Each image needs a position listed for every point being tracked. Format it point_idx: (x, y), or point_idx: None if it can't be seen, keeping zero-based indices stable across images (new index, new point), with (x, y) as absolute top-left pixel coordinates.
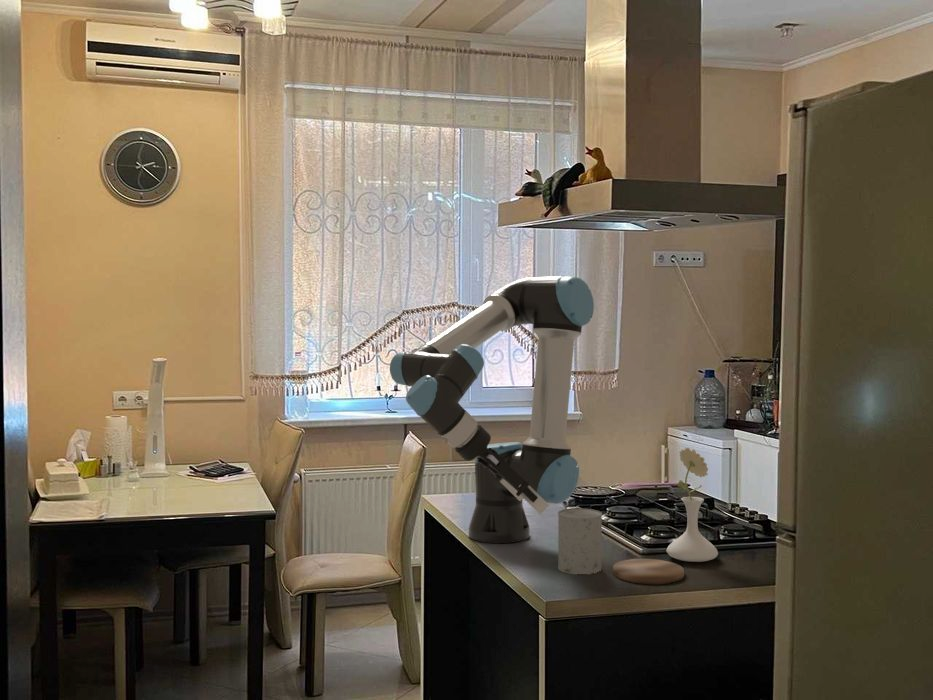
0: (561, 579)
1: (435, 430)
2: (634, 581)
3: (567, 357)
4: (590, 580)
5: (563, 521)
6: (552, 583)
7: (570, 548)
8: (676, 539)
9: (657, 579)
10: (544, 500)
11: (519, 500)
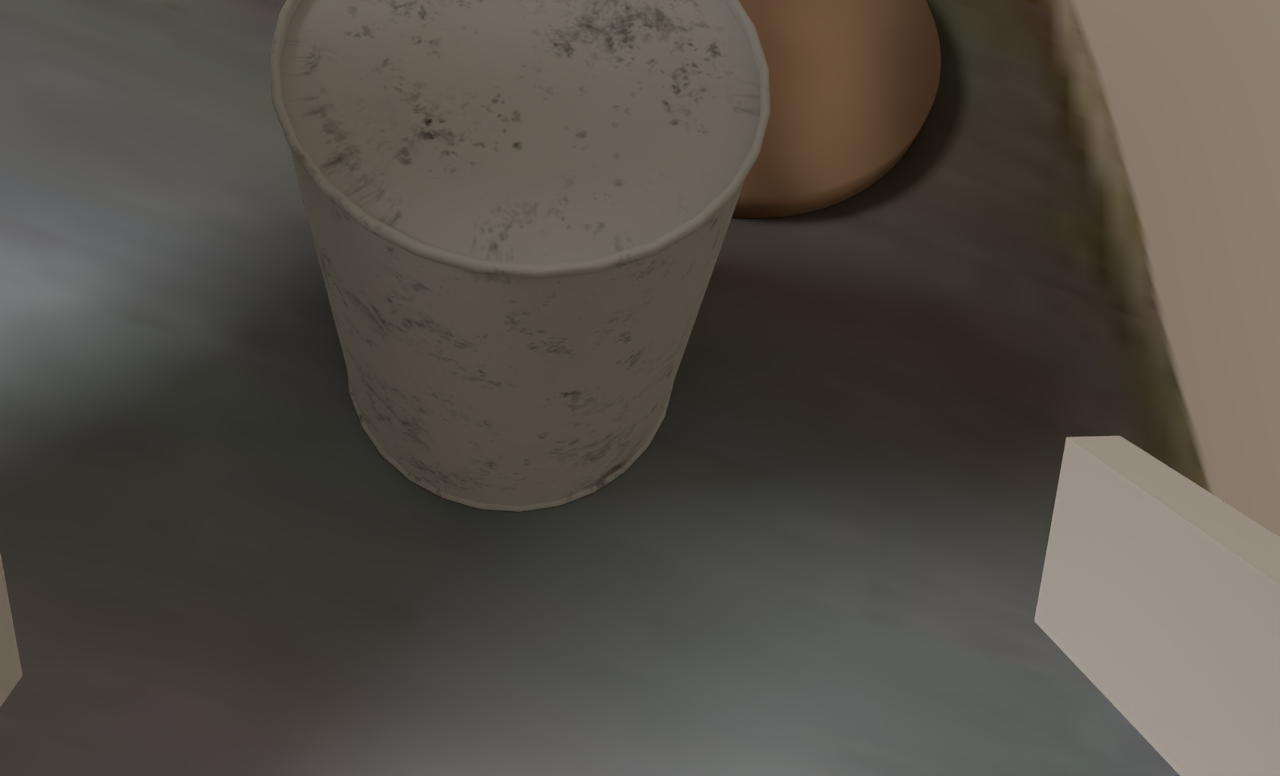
0: (762, 572)
1: None
2: (890, 168)
3: None
4: (812, 389)
5: (617, 291)
6: (853, 670)
7: (657, 377)
8: None
9: (938, 62)
10: (1190, 483)
11: (11, 685)
